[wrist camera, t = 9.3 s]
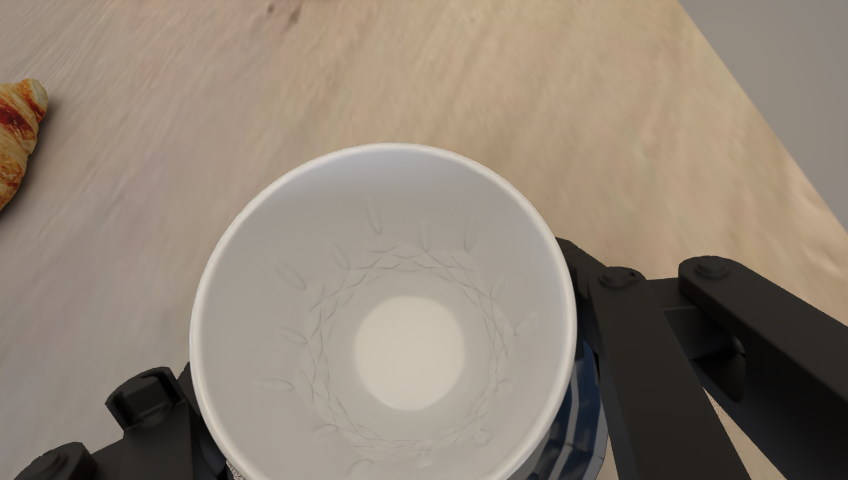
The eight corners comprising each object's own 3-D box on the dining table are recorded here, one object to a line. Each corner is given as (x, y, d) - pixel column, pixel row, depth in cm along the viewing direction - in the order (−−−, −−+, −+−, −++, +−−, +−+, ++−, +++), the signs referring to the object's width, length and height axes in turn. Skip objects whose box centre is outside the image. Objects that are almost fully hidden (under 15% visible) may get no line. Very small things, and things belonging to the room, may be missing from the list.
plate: (218, 364, 26) (181, 356, 23) (436, 186, 31) (435, 156, 27) (412, 666, 20) (405, 723, 16) (652, 387, 24) (689, 383, 21)
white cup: (512, 461, 16) (612, 533, 6) (314, 460, 16) (139, 530, 7) (497, 270, 19) (550, 136, 10) (331, 272, 19) (228, 145, 10)
